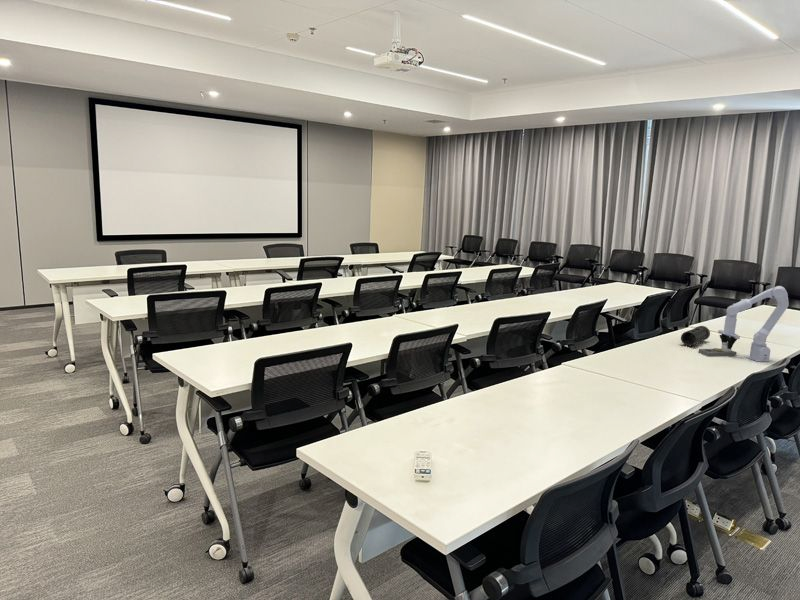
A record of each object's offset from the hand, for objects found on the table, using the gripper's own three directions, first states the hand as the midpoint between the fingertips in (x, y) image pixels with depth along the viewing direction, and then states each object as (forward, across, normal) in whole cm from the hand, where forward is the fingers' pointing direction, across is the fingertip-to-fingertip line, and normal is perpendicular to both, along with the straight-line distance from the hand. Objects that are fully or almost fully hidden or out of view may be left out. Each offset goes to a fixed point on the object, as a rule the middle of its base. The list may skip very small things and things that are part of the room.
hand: (726, 347), depth 322 cm
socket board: (+4, 0, -6) cm, 7 cm away
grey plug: (+3, 0, 0) cm, 3 cm away
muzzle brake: (+4, -25, -1) cm, 25 cm away
